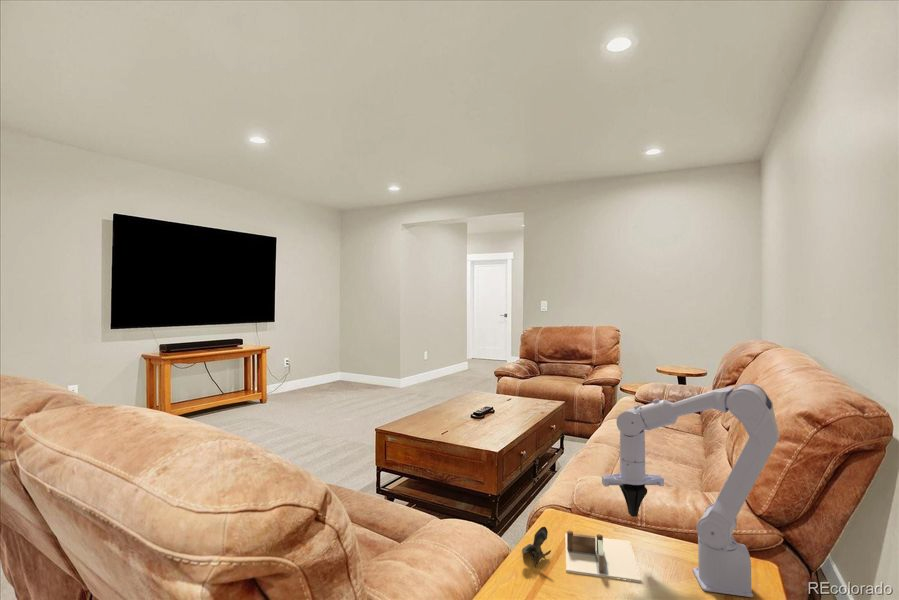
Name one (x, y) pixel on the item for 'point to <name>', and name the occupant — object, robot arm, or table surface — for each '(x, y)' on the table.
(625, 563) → the card
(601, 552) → the fence panel
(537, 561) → the eagle figurine
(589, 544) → the fence
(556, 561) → the table surface
